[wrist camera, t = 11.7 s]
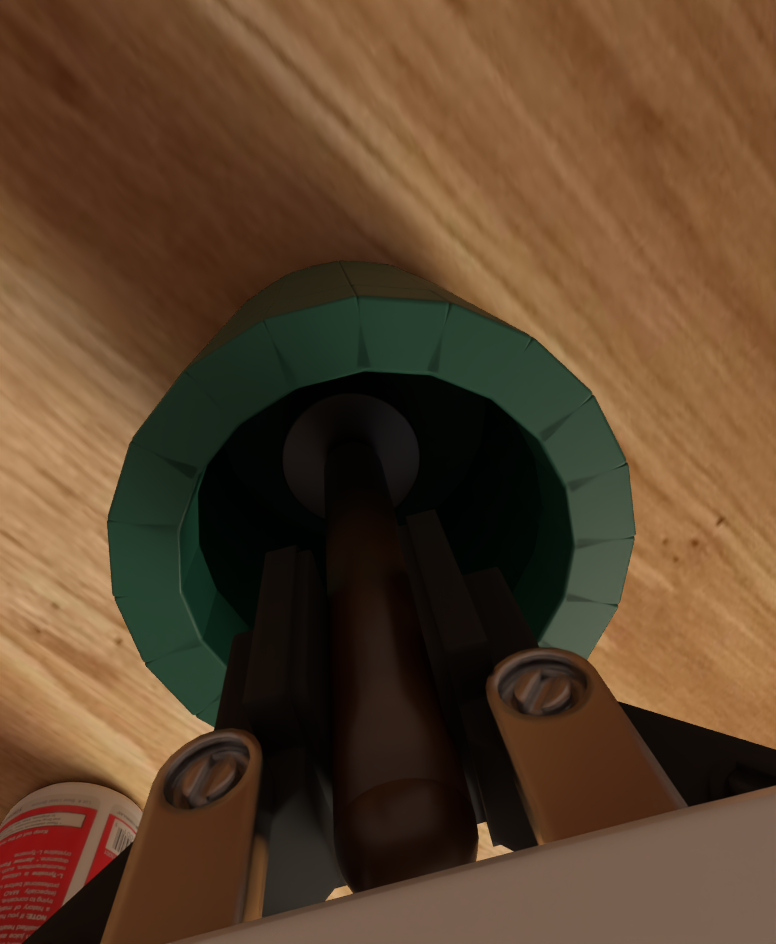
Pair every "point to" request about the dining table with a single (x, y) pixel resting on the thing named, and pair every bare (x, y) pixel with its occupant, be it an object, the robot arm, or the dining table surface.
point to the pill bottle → (57, 850)
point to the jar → (438, 487)
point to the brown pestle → (376, 640)
